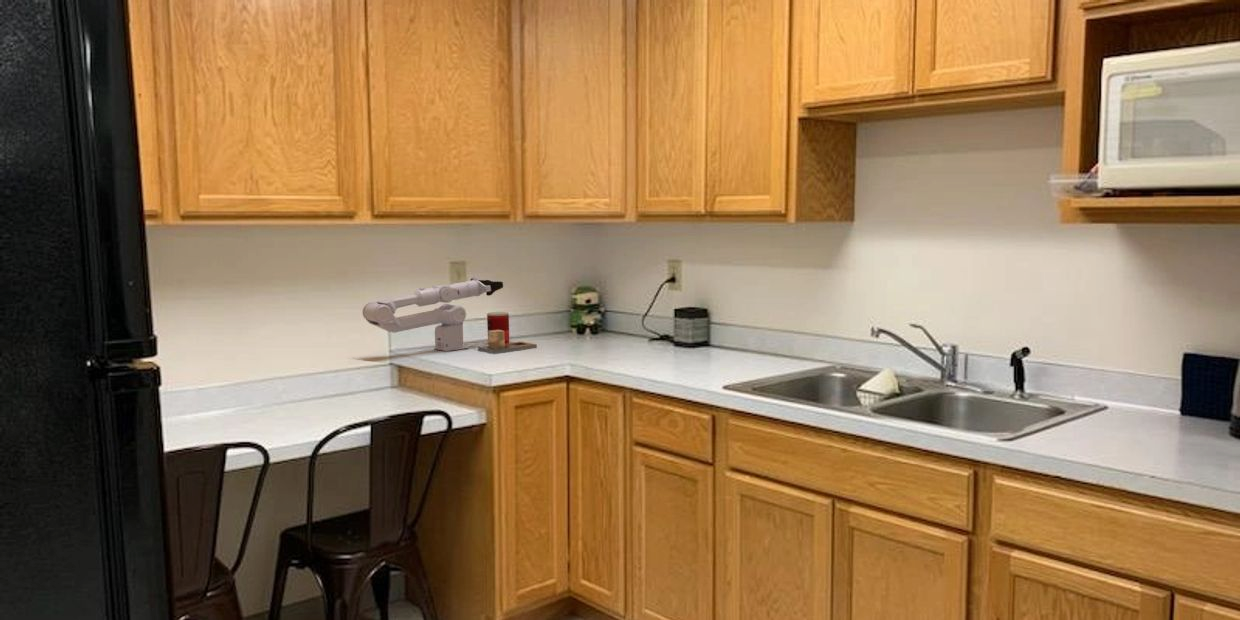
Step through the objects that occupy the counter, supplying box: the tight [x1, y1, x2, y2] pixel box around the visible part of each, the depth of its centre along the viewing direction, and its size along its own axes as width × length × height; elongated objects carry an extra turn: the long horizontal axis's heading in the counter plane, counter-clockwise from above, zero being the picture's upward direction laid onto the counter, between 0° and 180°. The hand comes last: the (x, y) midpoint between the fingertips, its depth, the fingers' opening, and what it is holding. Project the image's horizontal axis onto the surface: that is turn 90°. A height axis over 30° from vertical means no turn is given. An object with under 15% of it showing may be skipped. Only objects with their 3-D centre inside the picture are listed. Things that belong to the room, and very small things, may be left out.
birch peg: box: [487, 330, 505, 349], centre depth 316 cm, size 4×4×7 cm
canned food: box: [486, 311, 510, 343], centre depth 334 cm, size 8×8×11 cm
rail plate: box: [477, 340, 538, 355], centre depth 319 cm, size 18×10×1 cm, turn 131°
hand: (496, 283), depth 332 cm, fingers open, 7 cm apart
